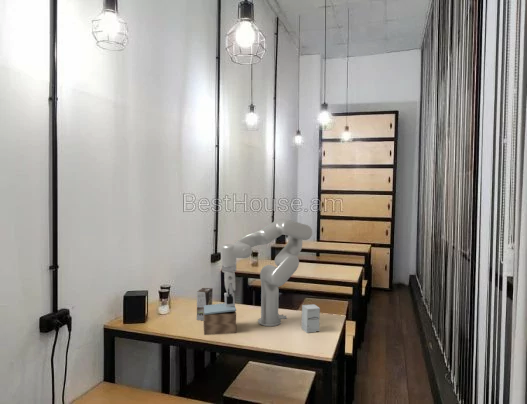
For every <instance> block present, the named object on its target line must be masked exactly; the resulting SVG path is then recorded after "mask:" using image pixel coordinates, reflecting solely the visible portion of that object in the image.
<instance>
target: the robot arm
mask: <svg viewBox="0 0 527 404" xmlns="http://www.w3.org/2000/svg"><path fill="white" fill-rule="evenodd" d="M282 235H285V236H288V237H289V238H288V242H287V244H286V245H285V246H284V247H283V248H282V249H281V250H279V252H278V254H277V255H276V256H275V258H274V264H275V265H276V266H274V265H271V264H265V266H264V265H263V267H262V268H261V270H260V274H259V278H260V285H261V287H260V288H261V290H260V291H261V292H260V293H261V294H260V299H261V301H260V303H261V304H260V318H259V319H257V323H258V324H259V325H261V326H264V327H276V326H279V325H280V324H282V321H281V320H287V319H288V317H287V315H284V314H279V287H282V286H283V285H284V284H285V283H287V281H288V280H289V279H290V278H291V277H292V275H294V274H295V273H296V271H297V270H298V268H299V265H300V259H299V258H298V256H299V254H300V252H301V251H302V248H303V241H308V240H310V239H311V238H312V236H313V229H312V228H311V226H310V225H308V224H305V223H301V222H298V221H293V220H290V219H286V218H277V220H274V221H273V222H271V223H269V224H268V225H266V226H265V227H262V229H260V230H257V231H254V232H252V233H249V234H247V235H245V236H243V237H241V238H239V239H238V240H237V241H236V240H235V242H234V243H229V244H223V245H222V246H221V272H222V273H224V274H223V275H224V276H223V277H224V279H223V280H224V288H225V291H226V293H227V304H233V292H236V274H235V272H237V259H247V258H250V256H251V255H252V253H253V249H252V248H254V247H256V246H263V245H268V244H270V243H271V242H273V241H274V240H276V239H277V238H279V237H281V236H282Z"/></svg>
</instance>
